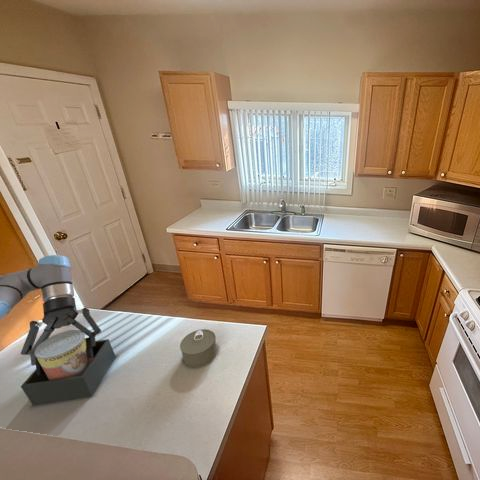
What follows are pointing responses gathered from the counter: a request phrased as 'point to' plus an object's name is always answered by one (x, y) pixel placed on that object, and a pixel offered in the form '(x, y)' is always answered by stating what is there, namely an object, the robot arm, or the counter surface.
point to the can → (199, 348)
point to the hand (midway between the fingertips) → (66, 366)
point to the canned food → (63, 355)
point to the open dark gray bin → (71, 379)
